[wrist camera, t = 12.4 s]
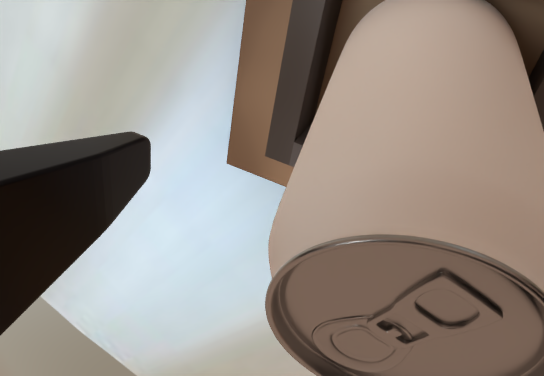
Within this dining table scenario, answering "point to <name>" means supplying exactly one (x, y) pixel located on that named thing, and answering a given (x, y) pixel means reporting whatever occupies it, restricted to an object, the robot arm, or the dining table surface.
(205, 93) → the dining table surface
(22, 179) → the robot arm
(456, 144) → the can
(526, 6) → the socket block
